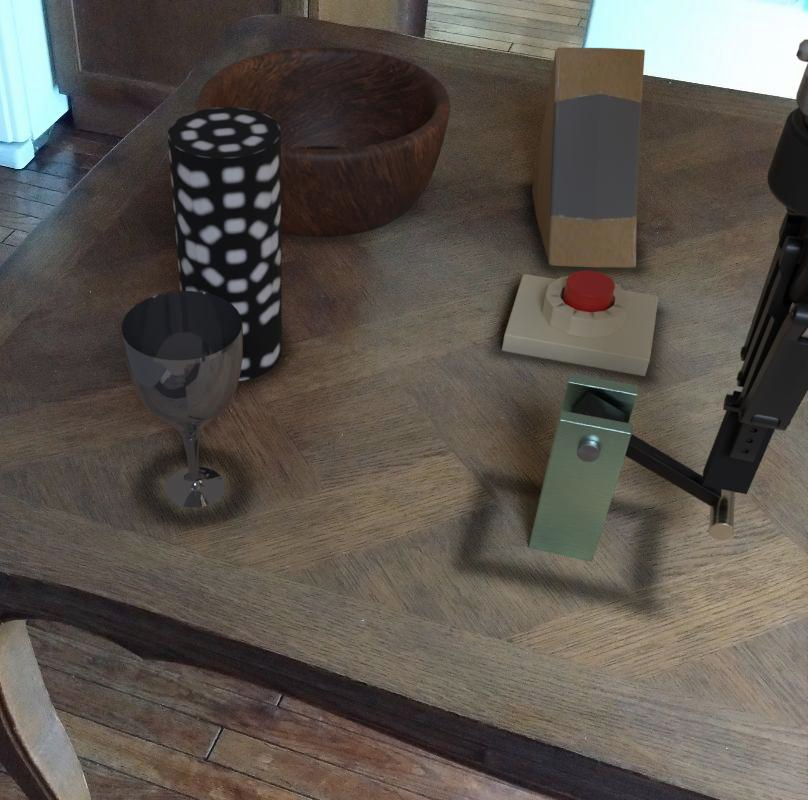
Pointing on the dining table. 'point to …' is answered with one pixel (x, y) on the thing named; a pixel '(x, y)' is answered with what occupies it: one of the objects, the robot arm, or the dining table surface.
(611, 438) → the bracket
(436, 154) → the wooden bowl
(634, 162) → the sandwich container
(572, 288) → the button
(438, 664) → the dining table surface
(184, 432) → the wine glass
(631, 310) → the block
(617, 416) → the lever
